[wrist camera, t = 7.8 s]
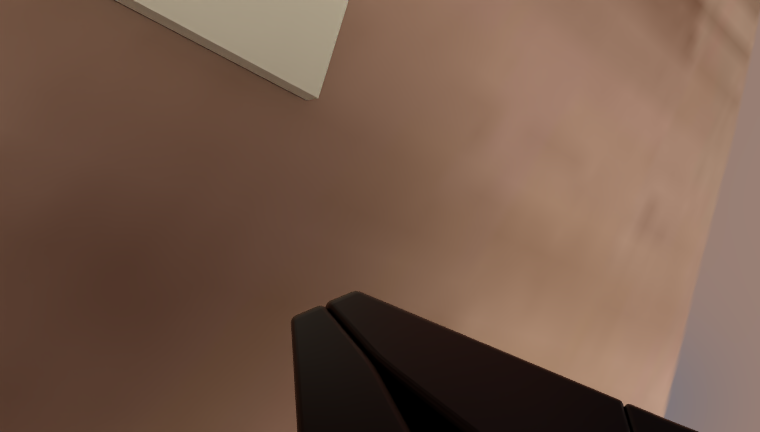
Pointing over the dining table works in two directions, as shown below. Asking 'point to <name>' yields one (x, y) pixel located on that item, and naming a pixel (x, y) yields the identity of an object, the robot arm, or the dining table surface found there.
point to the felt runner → (259, 34)
